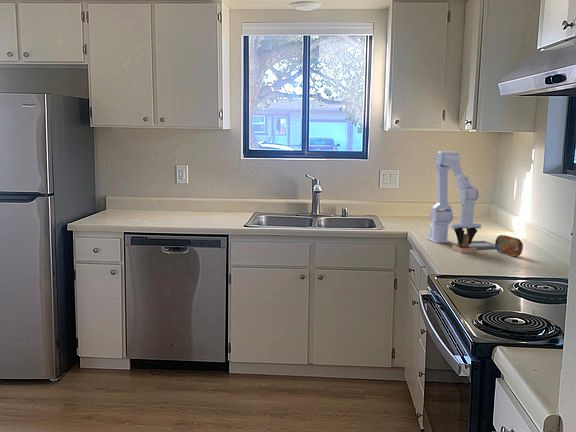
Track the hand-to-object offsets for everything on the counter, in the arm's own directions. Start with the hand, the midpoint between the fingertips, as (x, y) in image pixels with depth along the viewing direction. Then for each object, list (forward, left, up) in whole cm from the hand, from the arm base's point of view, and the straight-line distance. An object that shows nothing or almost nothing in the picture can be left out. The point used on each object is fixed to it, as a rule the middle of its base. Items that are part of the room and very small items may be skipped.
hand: (464, 244), depth 260 cm
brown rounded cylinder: (0, 0, -3) cm, 3 cm away
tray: (-8, +13, -3) cm, 16 cm away
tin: (+9, +17, -3) cm, 20 cm away
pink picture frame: (0, 0, -3) cm, 3 cm away
